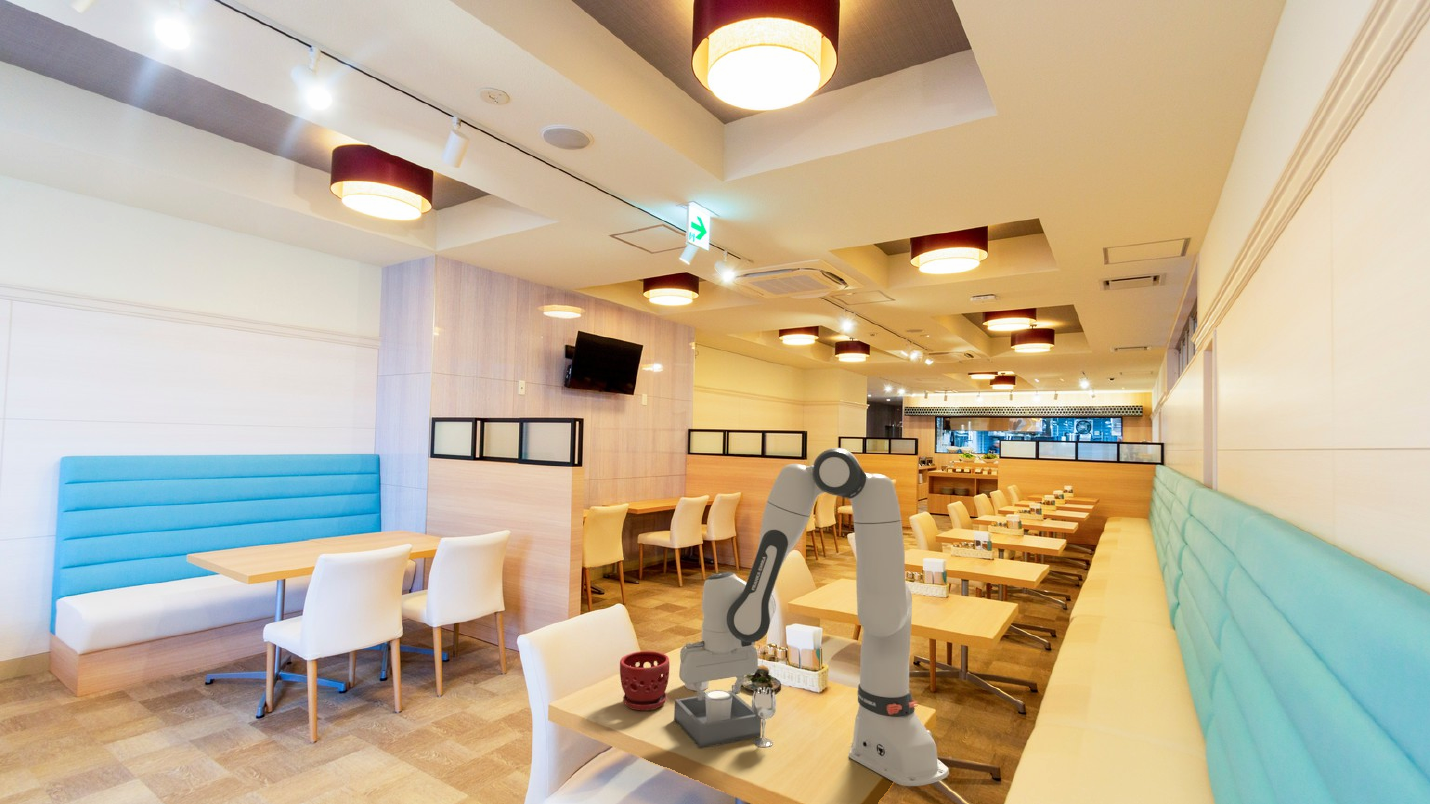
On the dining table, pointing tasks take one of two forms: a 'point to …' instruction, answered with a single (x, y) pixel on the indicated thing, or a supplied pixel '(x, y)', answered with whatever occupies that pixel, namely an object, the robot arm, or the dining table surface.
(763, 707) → the wineglass
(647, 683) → the plant pot
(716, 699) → the small tapered cup
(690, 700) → the bin
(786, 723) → the dining table surface
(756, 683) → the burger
